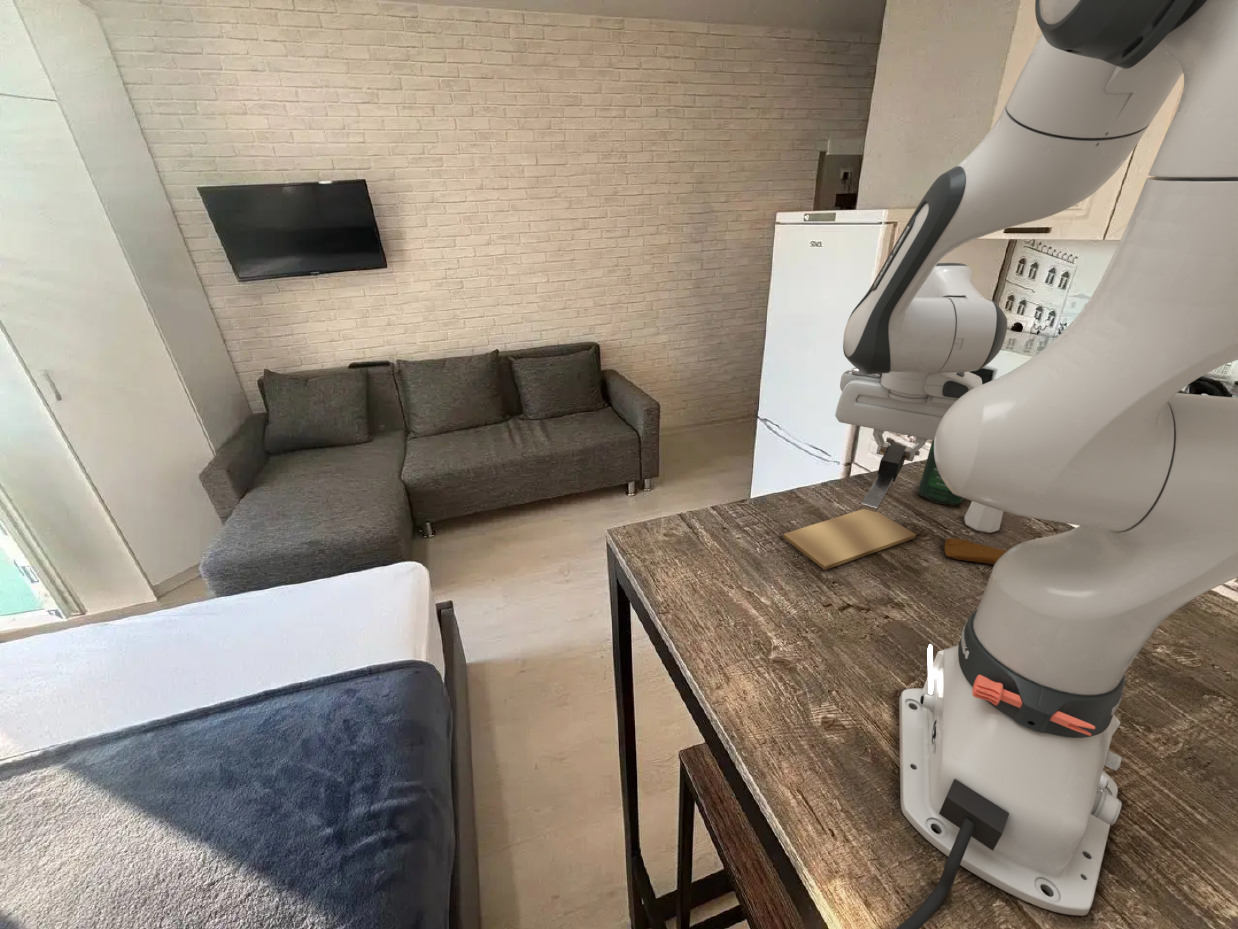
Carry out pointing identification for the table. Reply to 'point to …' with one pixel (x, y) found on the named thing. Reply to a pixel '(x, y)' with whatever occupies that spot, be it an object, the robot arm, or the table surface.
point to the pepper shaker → (983, 518)
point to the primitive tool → (972, 551)
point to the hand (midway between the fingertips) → (894, 456)
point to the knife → (884, 477)
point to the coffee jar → (936, 484)
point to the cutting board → (847, 537)
